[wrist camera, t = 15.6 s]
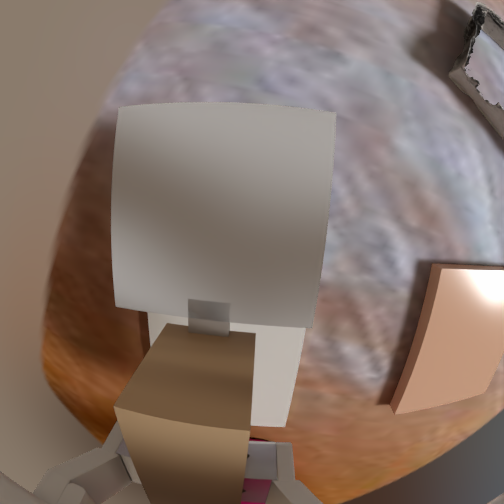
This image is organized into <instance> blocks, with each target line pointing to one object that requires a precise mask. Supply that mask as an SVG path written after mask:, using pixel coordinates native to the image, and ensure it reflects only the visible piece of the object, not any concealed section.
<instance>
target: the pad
mask: <svg viewBox="0 0 504 504" xmlns="http://www.w3.org/2000/svg"><path fill="white" fill-rule="evenodd" d="M167 323H171V324H178V325H185V326H188V318H187V317H179V316H172V315H165V314H158V313H151V312H148V325H149V336H150V347H151V346H152V345H153V343H154V342H155V340H156V339H157V337H158V336H159V334H160V333H161V331H162V330H163V328H164V327H165V325H166V324H167ZM305 330H306V328H297V327H280V326H266V325H254V324H242V323H231V322H230V331H238V332H249V333H256V340H255V358H254V376H253V393H252V410H251V425H253V426H270V427H285V424H286V420H287V416H288V412H289V408H290V403H291V399H292V395H293V390H294V386H295V381H296V376H297V371H298V367H299V362H300V357H301V351H302V346H303V341H304V336H305Z"/></svg>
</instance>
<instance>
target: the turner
mask: <svg viewBox="0 0 504 504" xmlns="http://www.w3.org/2000/svg"><path fill="white" fill-rule="evenodd" d="M335 132H336V113H333V112H327V111H320V110H313V109H306V108H298V107H289V106H279V105H267V104H253V103H232V102H180V103H159V104H145V105H133V106H124V107H119V110H118V118H117V126H116V134H115V144H114V156H113V170H112V191H111V248H112V269H113V284H114V296H115V306H116V307H120V308H126V309H132V310H138V311H145V312H151V313H158V314H165V315H172V316H179V317H187V318H188V326H185V325H178V324H171V323H167V324H166V325H165V327H164V328H163V330H162V331H161V333H160V334H159V336H158V337H157V339H156V340H155V342H154V343H153V345H152V346H151V348H150V349H149V351H148V352H147V354H146V356H145V357H144V359H143V360H142V362H141V363H140V365H139V366H138V368H137V370H136V371H135V373H134V374H133V376H132V377H131V379H130V381H129V382H128V384H127V385H126V387H125V388H124V390H123V392H122V393H121V395H120V396H119V398H118V400H117V401H116V403H115V404H114V410H115V413H116V416H117V420H118V423H119V426H120V429H121V432H122V435H123V438H124V441H125V443H126V446H127V449H128V452H129V454H130V457H131V459H132V462H133V465H134V467H135V469H136V472H137V474H138V477H139V479H140V481H141V483H142V485H143V488H144V490H145V492H146V494H147V496H148V499H149V500H150V503H151V504H241V497H242V490H243V483H244V475H245V468H246V460H247V453H248V445H249V437H250V427H251V410H252V393H253V376H254V358H255V340H256V333H249V332H238V331H230V322H231V323H242V324H254V325H266V326H280V327H297V328H312V326H313V321H314V315H315V309H316V303H317V297H318V291H319V285H320V278H321V271H322V264H323V257H324V250H325V242H326V234H327V226H328V217H329V208H330V198H331V187H332V176H333V163H334V149H335Z"/></svg>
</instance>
